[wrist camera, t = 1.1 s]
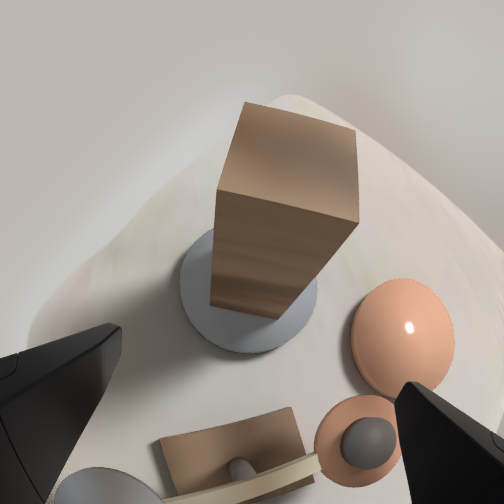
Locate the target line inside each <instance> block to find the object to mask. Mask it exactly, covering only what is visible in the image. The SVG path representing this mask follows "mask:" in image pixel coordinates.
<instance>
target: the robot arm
mask: <svg viewBox="0 0 504 504" xmlns="http://www.w3.org/2000/svg"><path fill="white" fill-rule="evenodd" d="M121 344H122V329H121V327H120V326H118V325H115V324H112V323H106V324H103V325H100V326H97V327H94V328H91V329H88V330H85V331H82V332H79V333H76V334H73V335H70V336H67V337H65V338H62V339H58V340H55V341H52V342H49V343H46V344H43V345H40V346H37V347H34V348H31V349H28V350H25V351H22V352H19V353H18V354H17V353H15V354H12V355H10V356H6V357H3V358H0V504H45V503H46V501H47V499H48V497H49V495H50V493H51V491H52V489H53V487H54V485H55V483H56V481H57V479H58V477H59V475H60V473H61V471H62V469H63V467H64V465H65V464H66V462H67V460H68V458H69V456H70V454H71V452H72V450H73V449H74V447H75V445H76V443H77V441H78V439H79V438H80V436H81V434H82V432H83V430H84V428H85V427H86V425H87V423H88V421H89V420H90V418H91V416H92V414H93V412H94V411H95V409H96V407H97V405H98V404H99V402H100V400H101V398H102V396H103V394H104V392H105V390H106V388H107V385H108V383H109V380H110V378H111V376H112V373H113V371H114V369H115V366H116V364H117V362H118V359H119V357H120V354H121ZM394 409H395V415H396V422H397V430H398V437H399V444H400V449H401V453H402V457H403V462H404V466H405V471H406V476H407V480H408V485H409V490H410V496H411V501H412V504H504V439H503V438H501V437H500V436H498V435H497V434H495V433H493V432H492V431H490V430H489V429H487V428H486V427H484V426H483V425H481V424H480V423H478V422H477V421H475V420H474V419H472V418H471V417H469V416H468V415H466V414H465V413H463V412H462V411H460V410H459V409H457V408H456V407H454V406H453V405H451V404H450V403H449V402H447V401H446V400H444V399H443V398H441V397H440V396H438V395H437V394H435V393H434V392H432V391H431V390H429V389H428V388H426V387H425V386H423V385H422V384H420V383H419V382H414V381H408V382H406V383H405V384H404V386H403V388H402V389H401V391H400V393H399V394H398V396H397V398H396V400H395V403H394Z"/></svg>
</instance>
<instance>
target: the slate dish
mask: <svg viewBox="0 0 504 504" xmlns="http://www.w3.org/2000/svg"><path fill="white" fill-rule="evenodd" d="M213 235H214V228H213V229H211V230H209V231H208V232H206V233H205V234H203V235H202V236H201V237H200V238H199V239H198V240H197V241H196V242H195V243H194V244H193V245H192V247H191V248H190V249H189V251H188V253H187V254H186V256H185V259H184V261H183V263H182V267H181V271H180V279H179V287H180V294H181V300H182V303H183V307H184V310H185V312H186V314H187V316H188V319H189V320H190V322H191V323H192V325H193V326H194V327H195V328H196V330H197V331H198V332H199V333H200V334H201V335H202V336H203V337H205V338H206V339H207V340H208V341H210V342H212V343H213V344H215V345H217V346H219V347H221V348H223V349H226V350H229V351H232V352H238V353H248V354H251V353H261V352H265V351H269V350H272V349H275V348H277V347H279V346H281V345H283V344H285V343H286V342H287V341H289V340H290V339H291V338H293V337H294V336H295V335H297V334H298V333H299V332H300V331H301V330H302V329H303V327H304V326H305V325H306V323H307V322H308V320H309V318H310V317H311V315H312V312H313V310H314V307H315V303H316V299H317V280H316V277H315V278H314V279H313V280H312V281H311V283H310V284H309V285H308V286H307V287H306V289H305V290H304V291H303V292H302V293H301V294H300V295H299V297H298V298H297V299H296V300H295V301H294V302H293V304H292V305H291V306H290V307H289V308H288V309H287V310H286V312H285V313H284V314H283V315H282V316H281V317H280V318H279V319H278V320H276V319H270V318H265V317H260V316H255V315H250V314H245V313H241V312H236V311H231V310H227V309H222V308H217V307H213V306H210V287H211V268H212V251H213Z"/></svg>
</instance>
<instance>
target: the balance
mask: <svg viewBox="0 0 504 504" xmlns="http://www.w3.org/2000/svg"><path fill="white" fill-rule="evenodd" d="M159 441H160V444H161V447H162V451H163V454H164V457H165V460H166V463H167V466H168V469H169V472H170V475H171V478H172V481H173V484H174V487H175V489H176V492H177V495H178V496H176V497H172V498H167V499H161V498H160V497H159V496H158V495H157V494H156V493H155V492H154V491H153V490H152V489H151V488H150V487H149V486H147V485H146V484H145V483H143V482H142V481H140V480H139V479H137V478H135V477H133V476H131V475H129V474H127V473H125V472H122V471H119V470H115V469H111V468H104V467H92V468H86V469H82V470H80V471H77V472H75V473H73V474H71V475H69V476H68V477H66V478H65V479H64V480H63V481H62V482H61V484H60V485H59V486H58V488H57V491H56V494H55V499H54V504H250V503H254V502H257V501H261V500H264V499H268V498H271V497H274V496H277V495H281V494H284V493H287V492H290V491H293V490H295V489H298V488H301V487H304V486H307V485H309V484H312V483H314V482H315V481H314V478H313V475H312V474H314V473H316V472H318V471H321V472H322V473H323V474H324V475H325V476H326V477H327V478H328V479H330V480H332V481H333V482H335V483H337V484H339V485H342V486H345V487H353V488H354V487H363V486H367V485H370V484H372V483H375V482H377V481H378V480H380V479H382V478H383V477H384V476H385V475H387V474H388V473H389V472H390V471H391V470H392V468H393V467H394V466H395V465H396V463H397V462H398V460H399V458H400V456H401V454H402V453H401V449H400V444H399V437H398V430H397V422H396V415H395V409H394V404H393V403H391V402H390V401H389V400H387V399H385V398H383V397H380V396H376V395H360V396H354V397H351V398H348V399H346V400H344V401H341V402H340V403H338V404H337V405H336V406H334V407H333V408H332V409H331V410H330V411H329V412H328V413H327V414H326V415H325V417H324V418H323V420H322V421H321V423H320V425H319V427H318V429H317V432H316V435H315V440H314V452H312V453H310V454H308V455H306V453H305V449H304V446H303V443H302V440H301V437H300V433H299V430H298V427H297V424H296V420H295V417H294V414H293V411H292V408H291V407H286V408H283V409H280V410H277V411H273V412H270V413H267V414H263V415H260V416H256V417H253V418H249V419H246V420H242V421H238V422H234V423H230V424H226V425H222V426H218V427H214V428H209V429H205V430H200V431H195V432H191V433H186V434H180V435H175V436H169V437H164V438H161V439H159Z"/></svg>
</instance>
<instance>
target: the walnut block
mask: <svg viewBox="0 0 504 504" xmlns="http://www.w3.org/2000/svg"><path fill="white" fill-rule="evenodd" d="M358 224H359V186H358V164H357V148H356V134H355V130H352V129H349V128H346V127H343V126H339V125H336V124H333V123H329V122H326V121H322V120H319V119H315V118H311V117H308V116H304V115H300V114H296V113H292V112H288V111H284V110H280V109H275V108H271V107H266V106H262V105H257V104H252V103H247V102H245V103H244V106H243V109H242V112H241V115H240V118H239V121H238V124H237V127H236V130H235V133H234V136H233V139H232V142H231V145H230V148H229V151H228V155H227V158H226V161H225V164H224V167H223V171H222V174H221V177H220V180H219V184H218V187H217V193H216V207H215V221H214V235H213V251H212V268H211V287H210V306H213V307H217V308H222V309H227V310H231V311H236V312H241V313H245V314H250V315H255V316H260V317H265V318H270V319H276V320H278V319H279V318H280V317H281V316H282V315H283V314H284V313H285V312H286V310H287V309H288V308H289V307H290V306H291V305H292V304H293V302H294V301H295V300H296V299H297V298H298V297H299V295H300V294H301V293H302V292H303V291H304V290H305V289H306V287H307V286H308V285H309V284H310V283H311V281H312V280H313V279H314V278H315V277H316V276H317V274H318V273H319V272H320V271H321V270H322V268H323V267H324V266H325V265H326V264H327V262H328V261H329V260H330V259H331V258H332V256H333V255H334V254H335V253H336V251H337V250H338V249H339V248H340V247H341V245H342V244H343V243H344V242H345V240H346V239H347V238H348V237H349V235H350V234H351V233H352V232H353V230H354V229H355V228H356V227H357V225H358Z"/></svg>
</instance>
